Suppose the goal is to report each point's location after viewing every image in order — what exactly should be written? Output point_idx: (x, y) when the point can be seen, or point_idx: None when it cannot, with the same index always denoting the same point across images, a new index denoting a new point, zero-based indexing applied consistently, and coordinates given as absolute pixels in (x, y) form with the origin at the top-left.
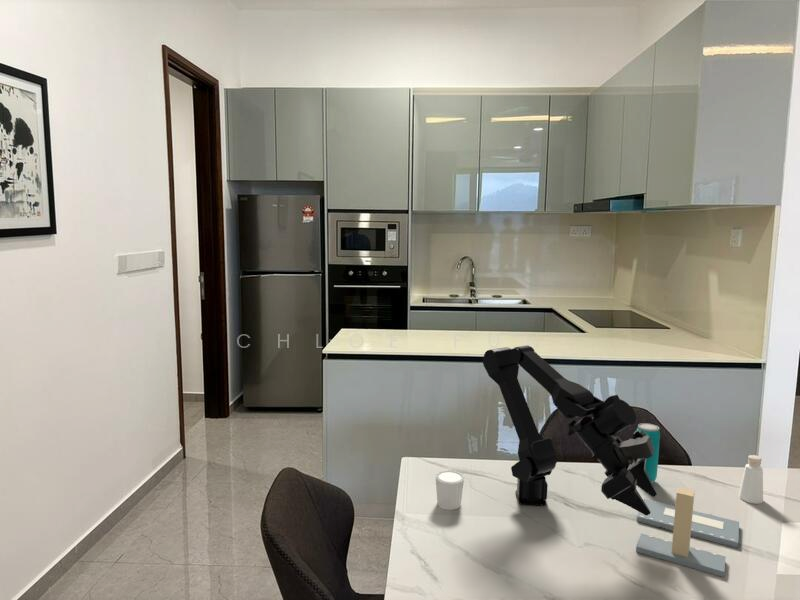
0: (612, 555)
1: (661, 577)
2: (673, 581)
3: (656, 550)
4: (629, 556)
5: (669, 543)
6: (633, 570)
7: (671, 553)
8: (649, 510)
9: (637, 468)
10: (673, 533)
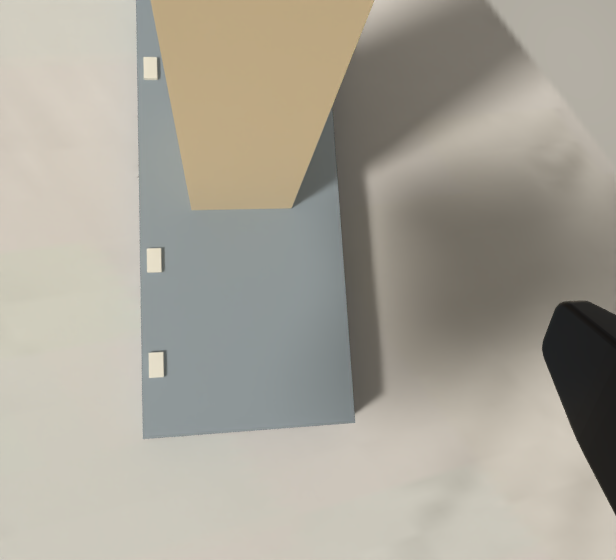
0: (478, 536)
1: (517, 236)
2: (513, 177)
3: (324, 294)
4: (422, 440)
5: (174, 236)
6: (550, 381)
7: (302, 206)
8: (590, 312)
9: None
10: (311, 153)
